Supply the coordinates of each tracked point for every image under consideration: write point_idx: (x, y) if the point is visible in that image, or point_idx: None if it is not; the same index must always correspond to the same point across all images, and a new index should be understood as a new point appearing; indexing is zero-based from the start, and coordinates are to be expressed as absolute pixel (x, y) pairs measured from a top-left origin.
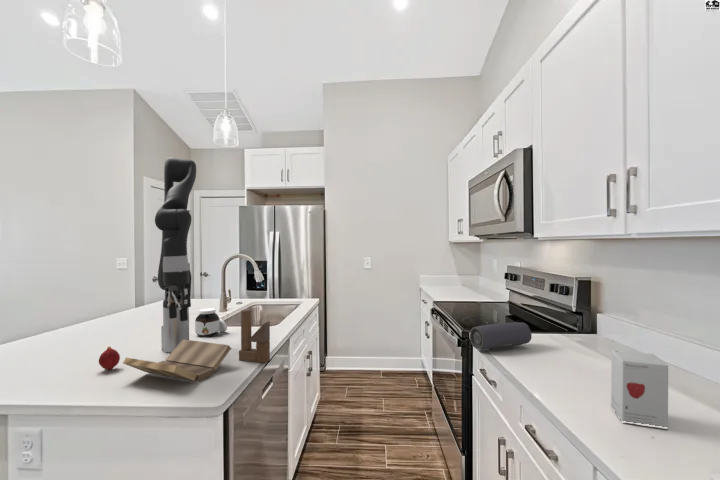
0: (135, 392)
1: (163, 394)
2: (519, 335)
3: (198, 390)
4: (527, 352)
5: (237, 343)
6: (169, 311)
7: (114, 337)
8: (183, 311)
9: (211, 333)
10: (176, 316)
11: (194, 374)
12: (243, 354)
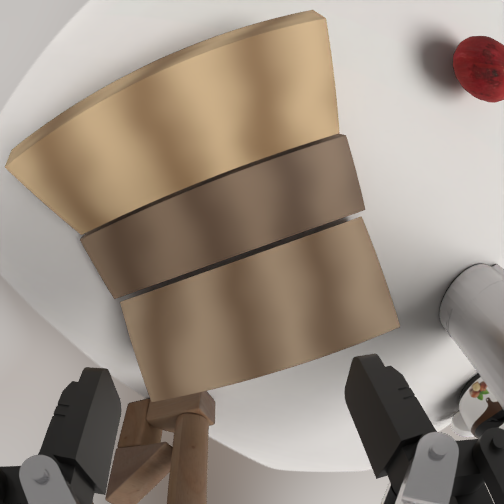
0: (148, 37)
1: (62, 109)
2: None
3: (29, 203)
4: None
5: (353, 422)
6: (387, 405)
7: None
8: (45, 447)
9: (462, 396)
10: (347, 401)
11: (73, 226)
12: (183, 403)
